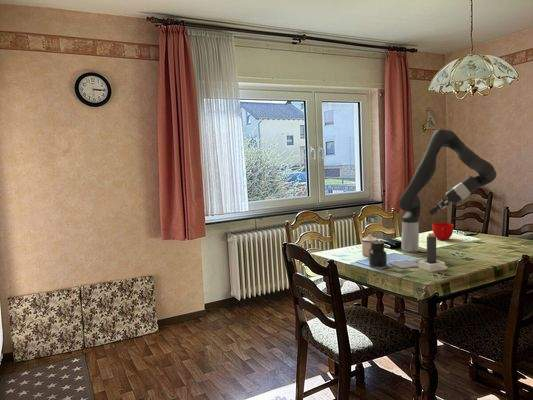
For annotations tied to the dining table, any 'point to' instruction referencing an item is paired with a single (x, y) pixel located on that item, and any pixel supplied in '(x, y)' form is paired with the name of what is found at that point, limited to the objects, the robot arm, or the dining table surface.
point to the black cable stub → (431, 248)
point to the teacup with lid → (367, 244)
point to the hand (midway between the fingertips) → (430, 213)
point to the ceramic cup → (442, 230)
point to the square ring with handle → (431, 265)
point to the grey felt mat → (404, 264)
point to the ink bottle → (377, 254)
